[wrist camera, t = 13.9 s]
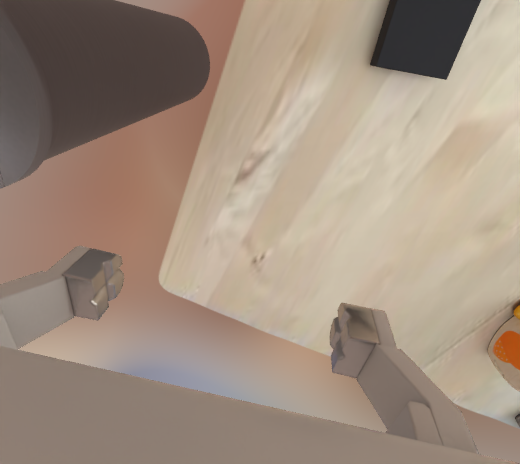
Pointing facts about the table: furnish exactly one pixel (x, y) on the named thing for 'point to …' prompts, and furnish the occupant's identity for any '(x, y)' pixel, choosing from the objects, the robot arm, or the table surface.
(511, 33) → the table surface
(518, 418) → the tape cartridge
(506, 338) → the shape sorter
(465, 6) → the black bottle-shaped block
